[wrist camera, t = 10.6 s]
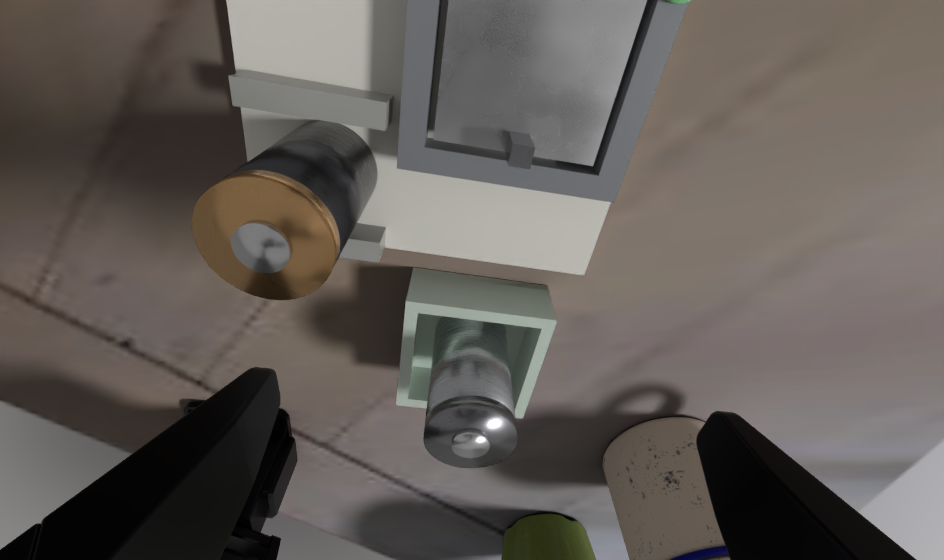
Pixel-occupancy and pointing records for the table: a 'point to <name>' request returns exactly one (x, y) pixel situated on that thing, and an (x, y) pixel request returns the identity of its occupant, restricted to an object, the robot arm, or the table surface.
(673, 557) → the teacup with lid
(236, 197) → the cell
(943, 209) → the table surface
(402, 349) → the cup
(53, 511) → the robot arm
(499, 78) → the cradle
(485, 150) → the white square base board
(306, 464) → the table surface
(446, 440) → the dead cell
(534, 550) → the plant pot
